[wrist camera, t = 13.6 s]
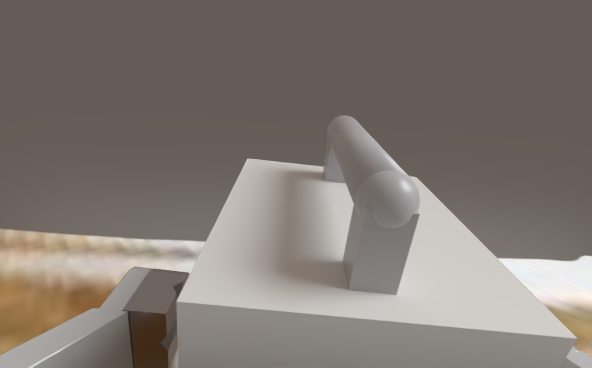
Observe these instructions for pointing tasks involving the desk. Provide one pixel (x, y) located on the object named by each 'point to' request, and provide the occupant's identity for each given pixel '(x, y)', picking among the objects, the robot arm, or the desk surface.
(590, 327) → the desk surface
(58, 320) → the desk surface
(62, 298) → the desk surface
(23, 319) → the desk surface
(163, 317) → the robot arm
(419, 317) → the trolley
